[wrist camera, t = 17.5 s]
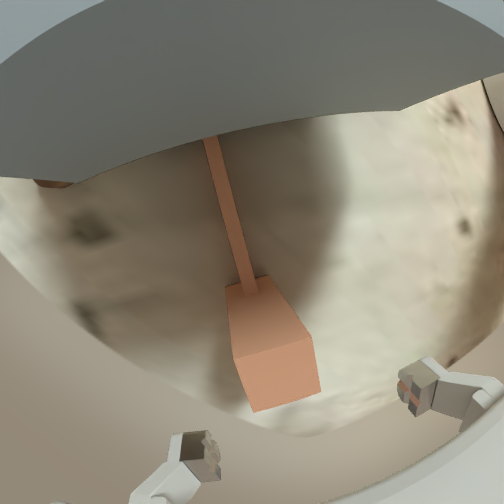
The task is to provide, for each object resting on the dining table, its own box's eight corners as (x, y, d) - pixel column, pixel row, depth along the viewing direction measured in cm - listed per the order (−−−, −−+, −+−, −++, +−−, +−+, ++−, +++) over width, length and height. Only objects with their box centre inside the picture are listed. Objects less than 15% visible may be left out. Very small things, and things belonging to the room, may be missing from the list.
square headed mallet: (232, 136, 16) (246, 76, 8) (277, 313, 19) (321, 391, 10) (187, 148, 16) (159, 97, 7) (237, 325, 19) (253, 412, 10)
